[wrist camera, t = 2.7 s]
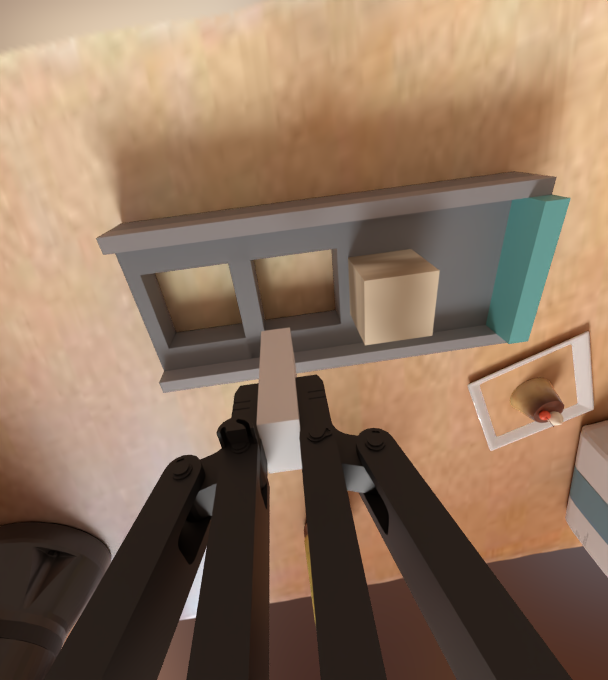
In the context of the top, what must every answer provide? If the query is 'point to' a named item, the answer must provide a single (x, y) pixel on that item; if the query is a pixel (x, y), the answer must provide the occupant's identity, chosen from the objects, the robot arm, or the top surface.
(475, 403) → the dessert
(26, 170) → the top surface
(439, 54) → the top surface
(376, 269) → the maple block
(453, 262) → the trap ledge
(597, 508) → the stereo radio cassette player
